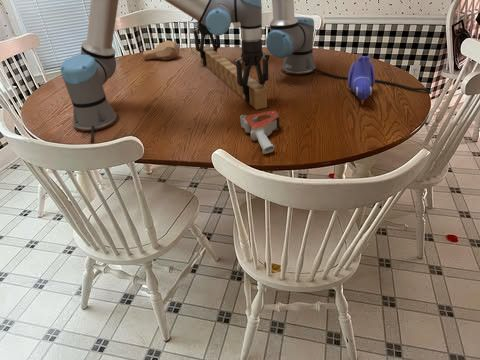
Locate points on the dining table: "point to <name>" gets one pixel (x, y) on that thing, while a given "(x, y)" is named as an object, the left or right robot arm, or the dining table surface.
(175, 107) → the dining table surface
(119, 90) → the dining table surface
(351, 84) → the toy
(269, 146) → the tape dispenser
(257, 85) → the beam
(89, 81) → the left robot arm
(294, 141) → the dining table surface
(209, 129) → the dining table surface
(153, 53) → the squash
